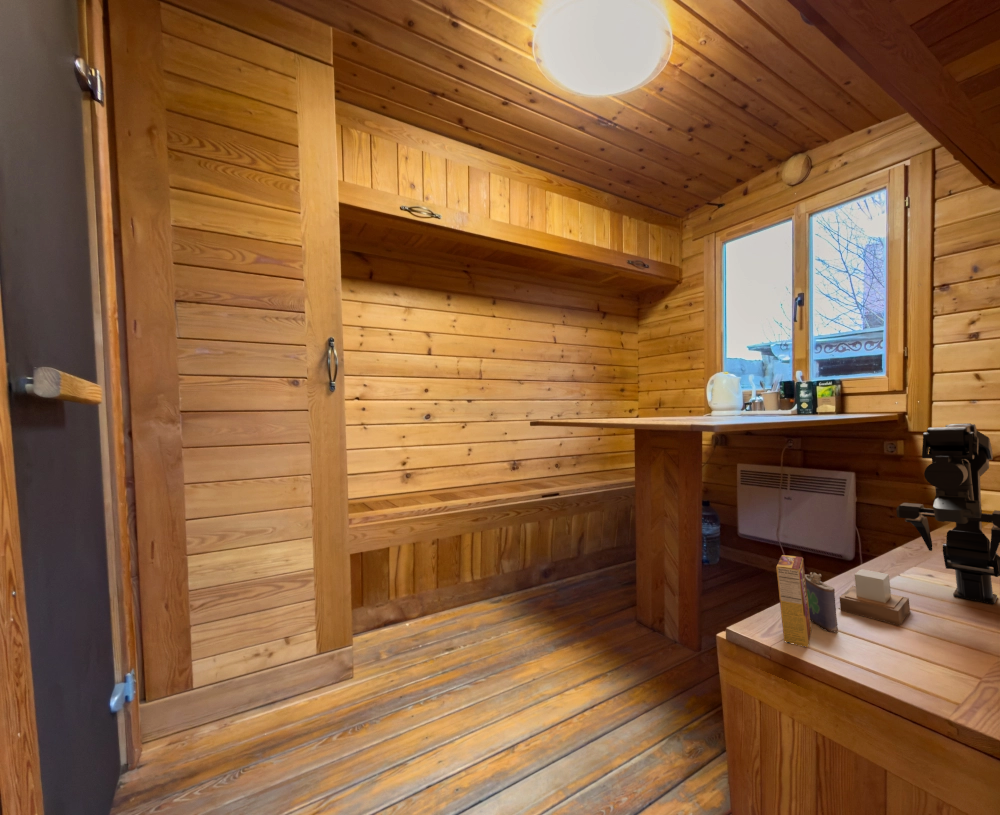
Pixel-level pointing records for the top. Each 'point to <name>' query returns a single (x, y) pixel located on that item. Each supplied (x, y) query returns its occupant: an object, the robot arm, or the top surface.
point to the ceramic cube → (872, 585)
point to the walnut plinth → (876, 607)
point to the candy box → (793, 600)
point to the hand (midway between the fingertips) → (960, 554)
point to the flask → (821, 603)
